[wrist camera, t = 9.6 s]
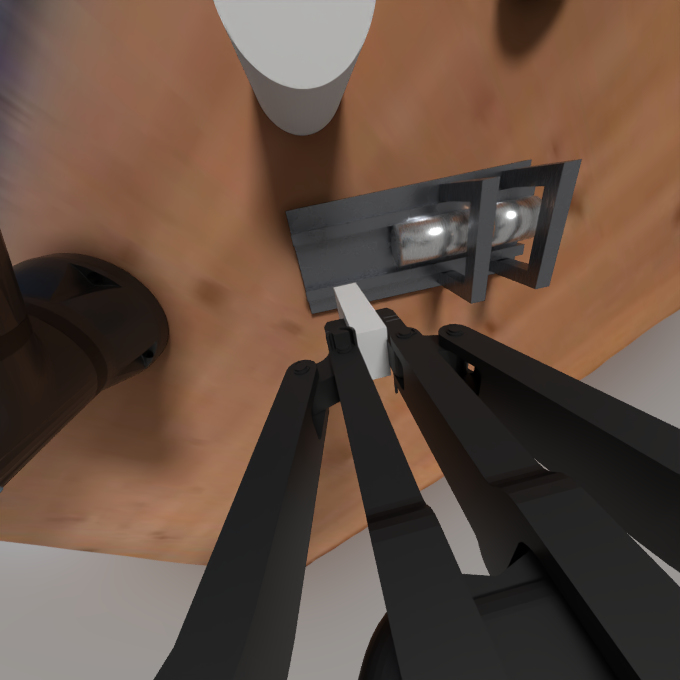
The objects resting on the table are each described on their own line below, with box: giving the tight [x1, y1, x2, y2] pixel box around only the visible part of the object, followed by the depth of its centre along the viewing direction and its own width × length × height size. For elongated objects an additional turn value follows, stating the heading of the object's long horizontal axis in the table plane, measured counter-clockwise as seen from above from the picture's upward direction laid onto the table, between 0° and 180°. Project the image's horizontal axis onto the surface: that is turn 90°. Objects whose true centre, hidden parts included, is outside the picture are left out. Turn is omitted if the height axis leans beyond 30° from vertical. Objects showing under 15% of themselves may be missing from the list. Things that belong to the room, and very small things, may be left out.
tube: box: [391, 195, 542, 266], centre depth 28 cm, size 15×4×4 cm, turn 100°
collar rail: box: [285, 159, 582, 314], centre depth 27 cm, size 27×12×8 cm, turn 100°
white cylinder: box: [214, 0, 376, 135], centre depth 17 cm, size 8×8×12 cm
